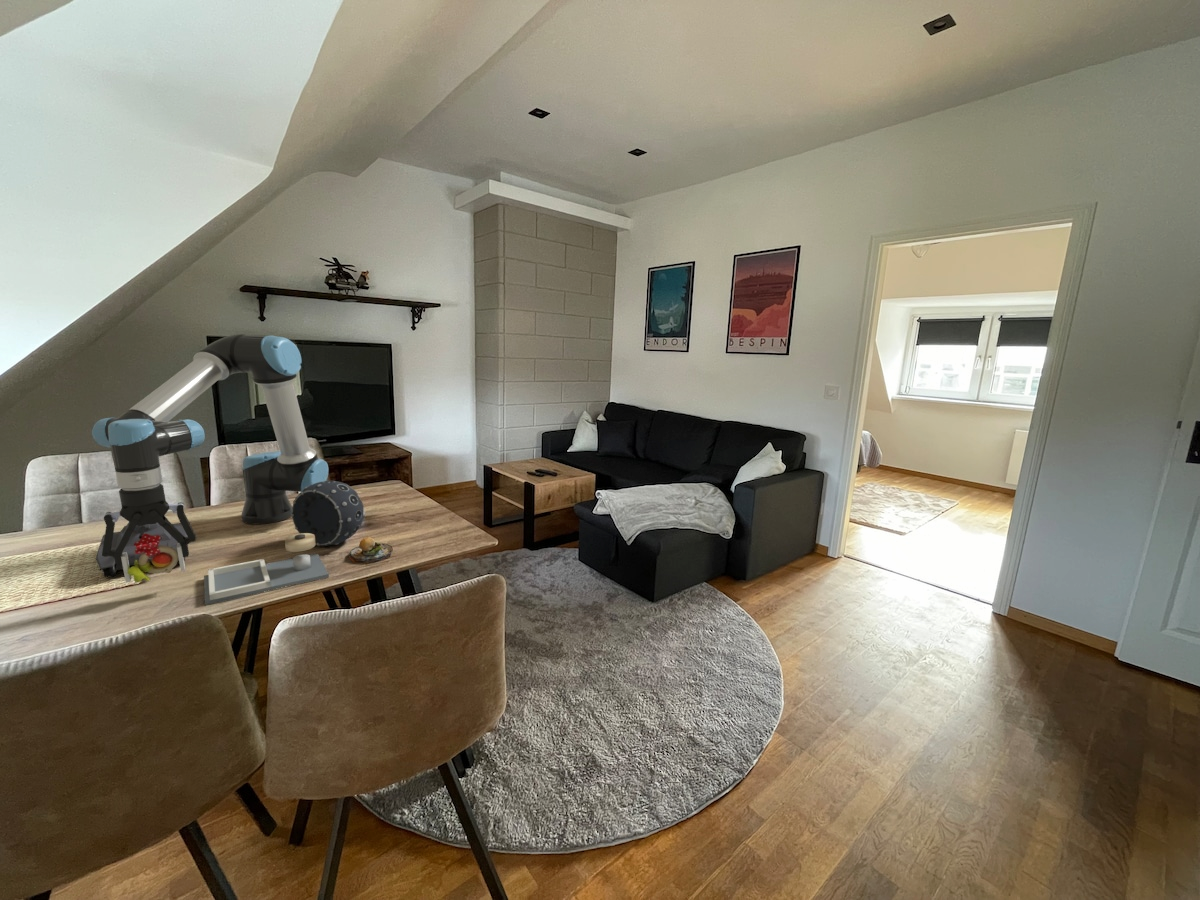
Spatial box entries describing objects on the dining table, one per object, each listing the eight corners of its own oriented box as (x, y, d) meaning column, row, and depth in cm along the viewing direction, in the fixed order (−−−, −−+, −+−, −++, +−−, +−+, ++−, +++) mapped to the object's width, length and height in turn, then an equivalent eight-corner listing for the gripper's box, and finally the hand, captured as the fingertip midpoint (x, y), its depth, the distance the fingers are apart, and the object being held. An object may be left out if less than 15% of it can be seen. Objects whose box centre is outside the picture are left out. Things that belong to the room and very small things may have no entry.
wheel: (283, 545, 132) (282, 534, 131) (313, 539, 136) (312, 529, 135) (287, 553, 126) (286, 542, 126) (317, 548, 131) (316, 537, 130)
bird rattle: (167, 575, 121) (118, 573, 114) (184, 533, 121) (136, 528, 114) (171, 585, 117) (121, 583, 110) (189, 541, 118) (140, 536, 111)
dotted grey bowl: (346, 553, 145) (342, 490, 141) (289, 545, 148) (284, 483, 144) (369, 540, 155) (366, 481, 151) (316, 533, 159) (312, 474, 155)
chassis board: (204, 579, 125) (202, 565, 125) (317, 556, 142) (316, 543, 141) (205, 605, 113) (203, 589, 113) (328, 577, 130) (327, 563, 129)
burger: (398, 557, 145) (397, 534, 143) (356, 568, 137) (355, 543, 135) (384, 545, 153) (383, 522, 152) (343, 554, 145) (342, 530, 144)
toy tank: (97, 585, 120) (88, 529, 117) (108, 551, 139) (100, 502, 136) (190, 567, 132) (183, 516, 129) (188, 538, 150) (182, 492, 147)
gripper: (69, 498, 102) (89, 594, 107) (201, 483, 115) (214, 568, 120) (76, 489, 107) (94, 580, 112) (201, 475, 121) (213, 557, 126)
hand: (156, 574), depth 116 cm, fingers closed on bird rattle, 9 cm apart
